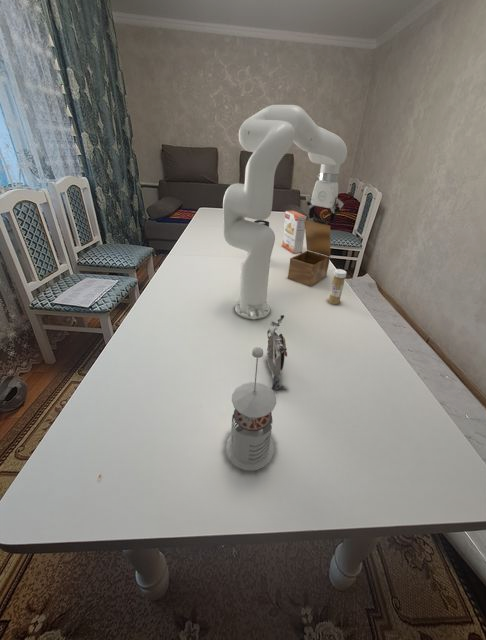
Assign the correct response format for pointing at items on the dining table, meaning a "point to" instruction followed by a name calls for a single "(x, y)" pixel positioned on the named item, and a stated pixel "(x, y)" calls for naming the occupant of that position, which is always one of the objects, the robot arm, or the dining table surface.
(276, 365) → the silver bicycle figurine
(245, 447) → the french press
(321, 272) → the wooden box
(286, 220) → the cracker box
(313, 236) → the lid
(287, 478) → the dining table surface
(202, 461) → the dining table surface
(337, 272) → the sprinkles bottle
